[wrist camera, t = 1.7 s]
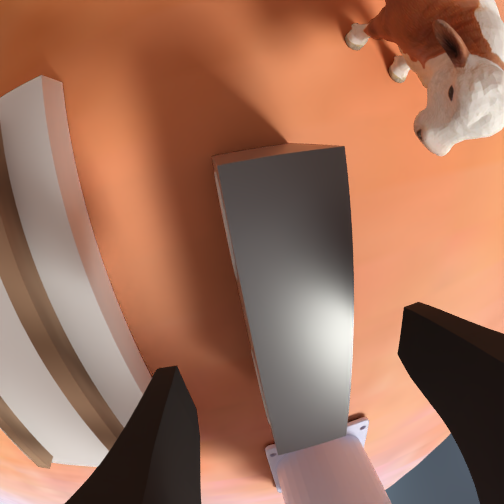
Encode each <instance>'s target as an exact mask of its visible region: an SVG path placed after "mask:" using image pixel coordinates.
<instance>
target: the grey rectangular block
mask: <svg viewBox="0 0 504 504" xmlns="http://www.w3.org/2000/svg"><path fill="white" fill-rule="evenodd" d="M211 157H212V162H213V167H214V175H215V181H216V187H217V192H218V198H219V203H220V208H221V213H222V218H223V223H224V228H225V233H226V237H227V242H228V247H229V251H230V256H231V260H232V265H233V269H234V273H235V277H236V282H237V286H238V291H239V296H240V301H241V305H242V310H243V314H244V319H245V324H246V328H247V333H248V337H249V342H250V346H251V354H252V358H253V363H254V367H255V371H256V376H257V380H258V384H259V388H260V392H261V396H262V400H263V404H264V408H265V412H266V416H267V419H268V423H269V424H270V427H271V431H272V435H273V438H274V442H275V446H276V450H277V453H278V455H282V454H286V453H290V452H294V451H298V450H301V449H305V448H308V447H312V446H315V445H319V444H322V443H325V442H328V441H331V440H334V439H337V438H340V437H343V436H346V432H347V423H348V413H349V402H350V390H351V375H352V357H353V328H354V272H353V242H352V223H351V208H350V195H349V184H348V173H347V164H346V155H345V146H334V145H318V144H295V143H287V144H279V145H273V146H266V147H260V148H254V149H248V150H242V151H236V152H231V153H226V154H220V155H215V156H211Z"/></svg>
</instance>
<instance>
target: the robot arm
mask: <svg viewBox="0 0 504 504" xmlns="http://www.w3.org/2000/svg"><path fill="white" fill-rule="evenodd" d="M398 356H399V358H400V360H401V361H402V363H403V365H404V367H405V369H406V370H407V372H408V374H409V375H410V377H411V378H412V380H413V381H414V383H415V384H416V385H417V387H418V388H419V389H420V390H421V392H422V393H423V394H424V396H425V397H426V398H427V400H428V401H429V402H430V404H431V405H432V406H433V408H434V409H435V410H436V412H437V413H438V414H439V415H440V417H441V418H442V420H443V421H444V422H445V424H446V425H447V427H448V428H449V430H450V432H451V434H452V435H453V437H454V439H455V441H456V443H457V444H458V447H459V449H460V450H461V453H462V455H463V457H464V459H465V462H466V464H467V466H468V468H469V471H470V473H471V476H472V479H473V481H474V484H475V487H476V491H477V494H478V498H479V501H480V504H504V334H503V333H500V332H497V331H494V330H491V329H488V328H485V327H483V326H480V325H477V324H475V323H472V322H469V321H467V320H464V319H462V318H459V317H457V316H455V315H452V314H450V313H447V312H445V311H442V310H440V309H437V308H434V307H432V306H429V305H426V304H423V303H420V302H417V303H414V304H412V305H409V306H406V307H404V311H403V320H402V328H401V335H400V342H399V349H398ZM368 425H369V420H368V418H367V417H362V418H359V419H357V420H354V421H351V422H348V423H347V432H346V436H343V437H340V438H337V439H334V440H331V441H328V442H325V443H322V444H319V445H315V446H312V447H308V448H305V449H301V450H298V451H294V452H290V453H286V454H282V455H278V453H277V450H276V446H275V444H272V445H269V446H267V447H266V448H265V452H266V456H267V459H268V462H269V465H270V469H271V472H272V475H273V478H274V481H275V485H276V488H277V491H278V492H279V493H282V494H283V498H284V501H285V504H391V502H390V500H389V498H388V496H387V494H386V492H385V490H384V487H383V485H382V483H381V481H380V480H379V478H378V476H377V474H376V472H375V470H374V468H373V466H372V464H371V462H370V460H369V458H368V456H367V454H366V452H365V450H364V444H365V439H366V435H367V430H368ZM65 504H201V489H200V434H199V425H198V417H197V409H196V407H195V405H194V403H193V401H192V398H191V396H190V394H189V392H188V390H187V388H186V385H185V383H184V381H183V379H182V376H181V374H180V372H179V369H178V367H177V366H172V367H165V368H159V369H157V370H156V372H155V373H154V375H153V377H152V379H151V381H150V383H149V384H148V386H147V388H146V390H145V392H144V394H143V396H142V398H141V399H140V401H139V403H138V405H137V407H136V408H135V410H134V412H133V414H132V415H131V417H130V419H129V421H128V422H127V424H126V426H125V427H124V429H123V431H122V432H121V434H120V435H119V437H118V438H117V440H116V441H115V443H114V445H113V446H112V448H111V449H110V451H109V452H108V454H107V455H106V456H105V458H104V459H103V461H102V462H101V463H100V465H99V466H98V467H97V468H96V470H95V471H94V472H93V473H92V475H91V476H90V477H89V478H88V479H87V481H86V482H85V483H84V484H83V485H82V486H81V487H80V488H79V489H78V490H77V491H76V493H75V494H74V495H73V496H72V497H71V498H70V499H69V500H68V501H67V502H66V503H65Z"/></svg>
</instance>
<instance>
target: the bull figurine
mask: <svg viewBox="0 0 504 504" xmlns="http://www.w3.org/2000/svg"><path fill="white" fill-rule="evenodd" d="M385 2H386V6H385V7H384V8H383V9H382V10H381V12H380V13H379V15H377V16H376V17H375V18H373V19H372V20H371V21H370V22H369V23H368V24H358V23H353V24H352V25H351V26H352V29H351V30H350V32H349V33H348V34H347V35H346V36H345V41H346V44H347V45H348V46H349V47H350V48H352V49H353V50H360V49H361V48H362V47H363V46H364V45H365V44H366V42H367V41H368V39H369V38H370V37H371V38H373V39H385V40H387V41H391V42H394V43H396V44H397V45H398V47H399V49H400V52H401V54H402V56H395V57H394V59H395V60H394V62H393V64H392V65H391V66H390V67H389V74H390V76H391V78H392V79H393V80H394V81H395V82H398V83H402V82H404V81H405V79H406V76H407V74H408V71H409V70H410V69H411V70H413V71H414V72H415V73H416V74H417V75H418V77H419V79H420V81H421V82H422V84H423V86H424V87H426V88H427V107H426V108H425V109H424V110H422V111H421V112H419V114H418V115H417V116H416V118H415V121H414V132H415V134H416V136H417V137H418V138H419V140H420V141H421V142H422V143H423V144H424V146H425V147H426V148H427V149H428V150H429V151H430V152H432V153H434V154H436V155H438V156H444V155H446V154H447V153H448V152H449V151H450V149H451V147H452V146H453V145H454V144H456V143H458V142H461V141H463V140H467V139H476V138H481V137H489V136H492V135H493V134H495V133H497V132H499V131H500V130H501V129H502V128H503V127H504V23H503V21H502V20H501V18H500V14H499V11H498V8H497V5H496V3H495V0H385Z"/></svg>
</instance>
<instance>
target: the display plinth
mask: <svg viewBox="0 0 504 504" xmlns="http://www.w3.org/2000/svg"><path fill="white" fill-rule="evenodd" d="M151 379H152V377H151V375H150V373H149V371H148V369H147V367H146V365H145V363H144V361H143V359H142V357H141V355H140V352H139V350H138V348H137V346H136V344H135V342H134V339H133V337H132V335H131V333H130V330H129V328H128V326H127V323H126V321H125V319H124V316H123V314H122V311H121V309H120V306H119V304H118V301H117V299H116V296H115V294H114V291H113V288H112V286H111V283H110V280H109V278H108V275H107V272H106V269H105V266H104V263H103V261H102V258H101V255H100V252H99V249H98V245H97V242H96V239H95V236H94V233H93V229H92V226H91V223H90V219H89V216H88V212H87V208H86V205H85V201H84V197H83V193H82V189H81V185H80V181H79V177H78V173H77V168H76V163H75V159H74V154H73V149H72V144H71V138H70V133H69V127H68V121H67V114H66V107H65V100H64V92H63V83H62V82H60V81H57V80H55V79H52V78H49V77H46V76H43V75H40V76H38V77H36V78H34V79H32V80H30V81H28V82H26V83H25V84H23V85H21V86H19V87H17V88H15V89H14V90H12V91H10V92H8V93H7V94H5V95H3V96H2V97H0V428H1V429H2V431H3V432H4V433H5V434H6V435H7V436H8V437H9V438H10V439H11V440H12V441H13V443H14V444H15V445H16V446H17V447H18V448H19V449H20V450H21V451H22V452H23V453H24V454H25V455H26V456H27V457H28V458H29V459H31V460H32V461H33V462H34V463H35V464H36V465H37V466H38V467H42V468H49V469H50V466H51V463H59V464H68V465H78V466H92V467H98V466H99V465H100V463H101V462H102V461H103V459H104V458H105V456H106V455H107V454H108V452H109V451H110V449H111V448H112V446H113V445H114V443H115V441H116V440H117V438H118V437H119V435H120V434H121V432H122V431H123V429H124V427H125V426H126V424H127V422H128V421H129V419H130V417H131V415H132V414H133V412H134V410H135V408H136V407H137V405H138V403H139V401H140V399H141V398H142V396H143V394H144V392H145V390H146V388H147V386H148V384H149V383H150V381H151Z"/></svg>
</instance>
